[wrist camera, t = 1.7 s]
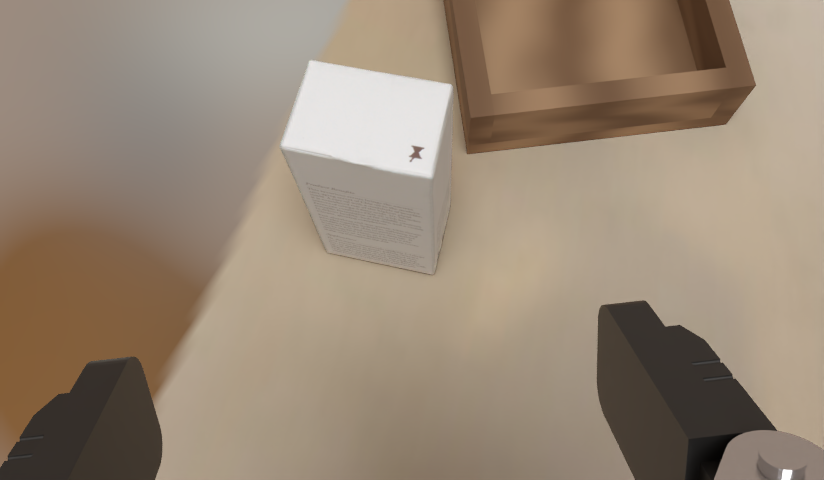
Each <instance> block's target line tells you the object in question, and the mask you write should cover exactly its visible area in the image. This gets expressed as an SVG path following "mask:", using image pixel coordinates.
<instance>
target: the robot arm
mask: <svg viewBox="0 0 824 480" xmlns="http://www.w3.org/2000/svg"><path fill="white" fill-rule="evenodd" d="M597 388H598V395H599V400H600V404H601V408H602V411H603V414H604V416H605V418H606V420H607V422H608V424H609V426H610V428H611V431H612V433H613V435H614V437H615V439H616V441H617V443H618V445H619V447H620V449H621V451H622V453H623V455H624V457H625V459H626V462H627V464H628V466H629V468H630V470H631V472H632V474H633V476H634V478H635V480H824V450H823V449H821V448H820V447H818V446H817V445H815V444H813V443H812V442H810V441H808V440H806V439H803V438H801V437H798V436H795V435H792V434H789V433H784V432H780V431H777V430H776V428H775V427H774V426H773V425H772V423H771V422H770V421H769V420H768V418H767V417H766V416H765V415H764V413H763V412H762V411H761V410H760V408H759V407H758V406H757V405H756V403H755V402H754V401H753V400H752V398H751V397H750V396H749V395H748V393H747V392H746V391H745V390H744V388H743V387H742V386H741V385H740V383H739V382H738V381H737V380H736V379H733V376H732V373H731V372H730V371H729V370H728V368H727V367H726V366H725V365H724V363H721V362H720V358H719V357H718V356H717V355H716V353H715V352H714V351H713V350H712V348H711V347H710V346H709V345H708V343H707V342H706V341H705V340H704V339H702V338H700V337H699V336H697V335H695V334H694V333H692V332H690V331H689V330H687V329H685V328H684V327H682V326H680V325H677V326H668V327H665V326H664V324H663V323H662V322H661V320H660V319H659V318H658V316H657V315H656V314H655V312H654V311H653V309H652V308H651V307H650V305H649V304H648V303H647V302H646V301H635V302H626V303H617V304H608V305H602V306H601V307H600V310H599V315H598V352H597ZM161 458H162V434H161V429H160V425H159V422H158V418H157V415H156V411H155V408H154V405H153V401H152V398H151V395H150V391H149V388H148V384H147V381H146V377H145V374H144V371H143V368H142V365H141V363H140V361H139V360H138V359H137V358H136V357H126V358H117V359H108V360H99V361H91V362H89V363H88V364H87V365H86V366H85V368H84V369H83V371H82V373H81V374H80V376H79V378H78V379H77V381H76V383H75V384H74V386H73V388H72V390H71V391H70V393H65V394H58V395H57V396H56V397H55V398H54V399H52V400H51V401H50V402H49V403H48V404H47V405H45V406H44V407H43V408H42V409H41V410H40V411H38V412H37V413H36V414H35V415H34V416H33V417H32V419H31V421H30V422H29V424H28V425H27V427H26V428H25V430H24V431H23V433H22V435H21V436H20V442H16V444H15V446H14V447H13V449H12V450H11V452H10V453H9V455H8V461H4V463H3V464H2V466H1V467H0V480H155V478H156V475H157V472H158V469H159V467H160V463H161Z"/></svg>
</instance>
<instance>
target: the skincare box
mask: <svg viewBox="0 0 824 480" xmlns="http://www.w3.org/2000/svg"><path fill="white" fill-rule="evenodd" d="M452 131H453V86H452V85H451V84H447V83H441V82H435V81H430V80H424V79H418V78H413V77H407V76H401V75H395V74H389V73H383V72H377V71H371V70H365V69H359V68H354V67H348V66H342V65H336V64H331V63H325V62H320V61H315V60H310V61H309V63H308V65H307V68H306V71H305V74H304V77H303V80H302V83H301V85H300V88H299V91H298V94H297V97H296V100H295V103H294V106H293V108H292V111H291V114H290V117H289V120H288V123H287V126H286V128H285V131H284V134H283V137H282V140H281V143H280V149H281V151H282V153H283V155H284V157H285V159H286V162H287V164H288V166H289V168H290V170H291V173H292V175H293V177H294V179H295V181H296V184H297V186H298V188H299V191H300V193H301V195H302V197H303V200H304V202H305V204H306V206H307V209H308V211H309V213H310V216H311V218H312V220H313V222H314V225H315V227H316V229H317V232H318V234H319V236H320V238H321V241H322V243H323V245H324V248H325V250H326V251H327V252H328V253H332V254H337V255H342V256H346V257H351V258H356V259H360V260H365V261H370V262H374V263H379V264H384V265H389V266H393V267H398V268H403V269H408V270H412V271H417V272H421V273H426V274H430V275H433V274H434V273H435V270H436V265H437V261H438V257H439V253H440V249H441V245H442V241H443V236H444V232H445V227H446V223H447V218H448V214H449V209H450V203H451V170H452Z"/></svg>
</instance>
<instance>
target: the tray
mask: <svg viewBox="0 0 824 480" xmlns="http://www.w3.org/2000/svg"><path fill="white" fill-rule="evenodd" d="M444 6H445V13H446V19H447V26H448V32H449V39H450V45H451V52H452V58H453V64H454V71H455V77H456V84H457V90H458V97H459V103H460V110H461V116H462V123H463V129H464V135H465V142H466V148H467V154H471V153H480V152H489V151H497V150H506V149H515V148H523V147H532V146H541V145H549V144H558V143H567V142H576V141H584V140H593V139H602V138H610V137H619V136H628V135H636V134H645V133H654V132H663V131H671V130H680V129H689V128H697V127H706V126H715V125H723V124H726V123H727V122H728V121H729V119H730V118H731V117H732V116H733V114H734V113H735V112H736V110H737V109H738V108H739V107H740V105H741V104H742V103H743V101H744V100H745V99H746V98H747V96H748V95H749V94H750V92H751V91H752V90H753V88H754V87H755V86H756V84H755V81H754V77H753V74H752V71H751V68H750V65H749V62H748V59H747V55H746V52H745V49H744V46H743V43H742V40H741V36H740V33H739V30H738V27H737V24H736V21H735V17H734V14H733V11H732V8H731V5H730V2H729V0H444Z"/></svg>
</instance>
